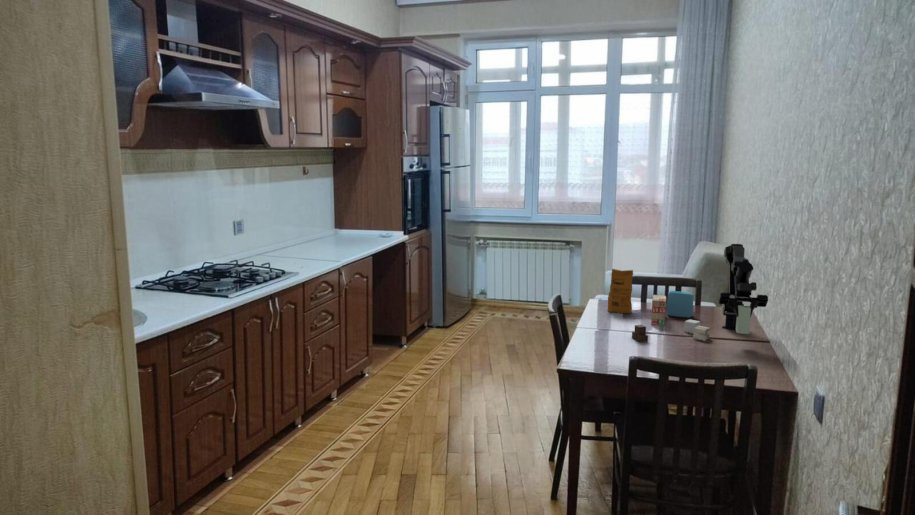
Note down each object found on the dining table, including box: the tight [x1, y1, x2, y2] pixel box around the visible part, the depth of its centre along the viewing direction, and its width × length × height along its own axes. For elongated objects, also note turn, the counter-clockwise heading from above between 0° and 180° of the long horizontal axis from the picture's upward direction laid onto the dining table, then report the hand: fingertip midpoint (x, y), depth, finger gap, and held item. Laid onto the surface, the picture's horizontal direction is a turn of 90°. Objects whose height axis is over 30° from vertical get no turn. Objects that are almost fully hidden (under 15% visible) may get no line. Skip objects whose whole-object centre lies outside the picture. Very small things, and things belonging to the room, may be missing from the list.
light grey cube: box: [683, 319, 701, 335], centre depth 293 cm, size 5×5×5 cm
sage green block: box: [735, 305, 751, 335], centre depth 270 cm, size 4×4×11 cm
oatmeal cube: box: [692, 325, 711, 342], centre depth 282 cm, size 5×5×5 cm
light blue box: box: [666, 290, 695, 319], centre depth 323 cm, size 12×4×12 cm, turn 66°
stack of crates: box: [631, 324, 649, 343], centre depth 280 cm, size 15×15×7 cm
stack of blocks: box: [650, 294, 667, 327], centre depth 314 cm, size 21×6×12 cm, turn 163°
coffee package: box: [607, 268, 634, 314], centre depth 330 cm, size 10×12×22 cm
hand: (744, 316), depth 268 cm, fingers closed on sage green block, 4 cm apart
